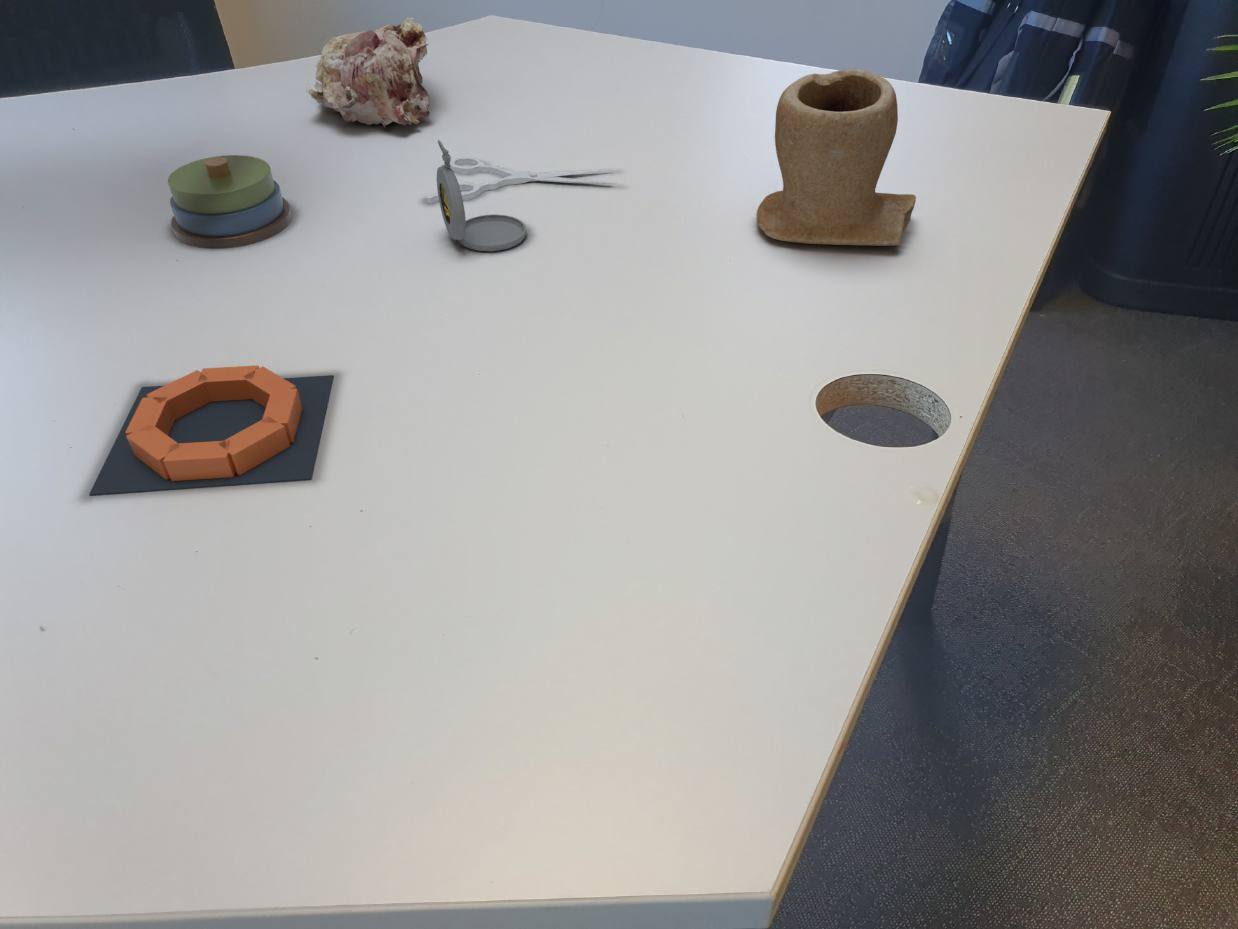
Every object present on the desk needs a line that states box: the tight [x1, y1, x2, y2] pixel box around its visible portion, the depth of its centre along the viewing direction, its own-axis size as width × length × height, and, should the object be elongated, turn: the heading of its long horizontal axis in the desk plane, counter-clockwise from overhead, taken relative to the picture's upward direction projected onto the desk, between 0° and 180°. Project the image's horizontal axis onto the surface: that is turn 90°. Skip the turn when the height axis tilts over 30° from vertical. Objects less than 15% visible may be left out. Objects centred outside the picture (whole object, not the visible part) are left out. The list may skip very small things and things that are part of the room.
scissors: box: [426, 156, 618, 204], centre depth 96 cm, size 11×1×20 cm
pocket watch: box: [436, 139, 527, 252], centre depth 83 cm, size 8×8×10 cm
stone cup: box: [755, 68, 917, 247], centre depth 82 cm, size 15×12×15 cm
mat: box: [88, 374, 335, 497], centre depth 63 cm, size 14×12×1 cm
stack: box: [167, 154, 293, 250], centre depth 87 cm, size 11×11×6 cm
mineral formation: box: [305, 17, 431, 128], centre depth 111 cm, size 23×16×10 cm
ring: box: [125, 364, 303, 481], centre depth 63 cm, size 11×11×2 cm
